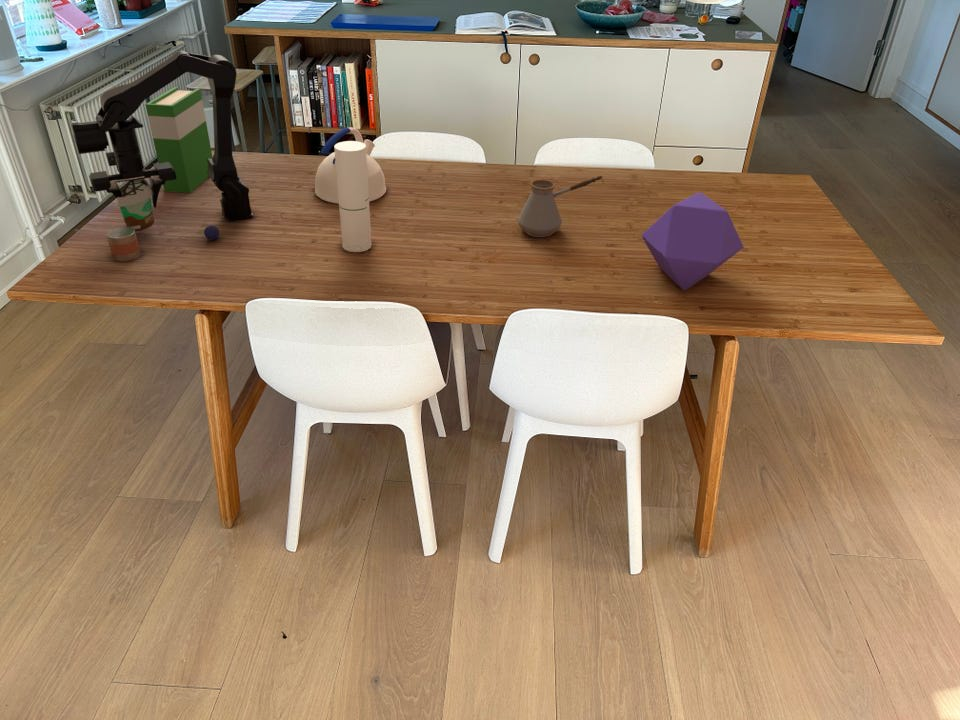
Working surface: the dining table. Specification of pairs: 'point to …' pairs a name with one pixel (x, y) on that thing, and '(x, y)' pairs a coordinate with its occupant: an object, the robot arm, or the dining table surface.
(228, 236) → the dining table surface
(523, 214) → the coffee pot
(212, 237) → the blue ball
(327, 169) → the kettle
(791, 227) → the dining table surface
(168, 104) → the hardback book
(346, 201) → the cylindrical container
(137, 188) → the food container
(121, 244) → the tin can
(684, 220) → the purple faceted block
